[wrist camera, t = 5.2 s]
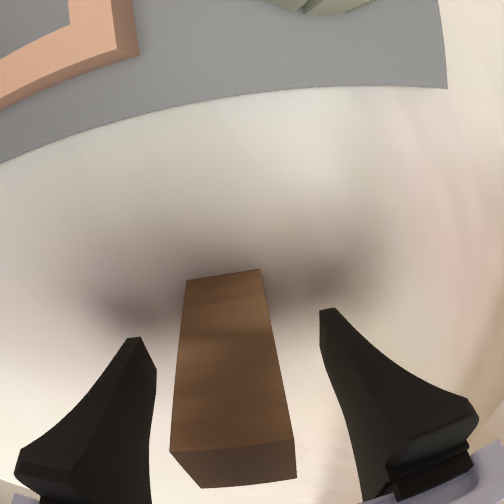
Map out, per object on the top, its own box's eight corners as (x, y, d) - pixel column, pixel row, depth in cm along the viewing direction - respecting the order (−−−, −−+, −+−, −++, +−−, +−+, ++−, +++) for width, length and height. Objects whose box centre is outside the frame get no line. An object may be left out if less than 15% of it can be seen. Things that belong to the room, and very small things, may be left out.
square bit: (203, 333, 16) (201, 488, 9) (186, 280, 14) (168, 451, 7) (267, 324, 16) (297, 478, 9) (259, 269, 14) (294, 438, 7)
